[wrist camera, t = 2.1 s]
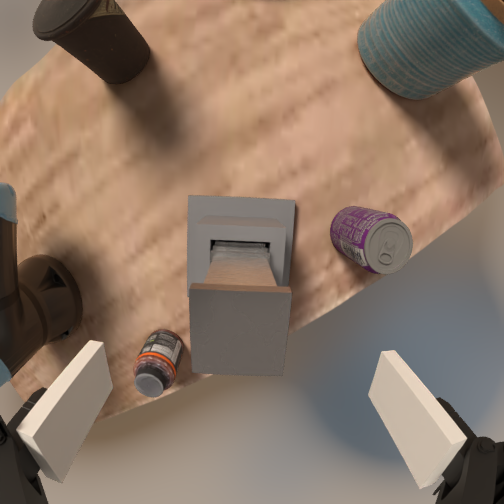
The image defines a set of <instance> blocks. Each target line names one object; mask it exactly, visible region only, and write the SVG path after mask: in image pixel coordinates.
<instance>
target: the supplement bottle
mask: <svg viewBox="0 0 504 504" xmlns="http://www.w3.org/2000/svg"><path fill="white" fill-rule="evenodd" d="M182 354H183V343H182V341H181V339H180V338H179V337H178V335H176V334H175V333H173V332H172V331H169V330H165V329H161V330H157V331H154V332H153V333H152V334H151V335H150V336H149V337H148V339H147V341H146V343H145V344H144V346H143V348H142V350H141V352H140V354H139V355H138V357H137V359H136V361H135V363H134V367H133V372H134V376H135V380H134V384H135V387H136V389H137V390H138V391H139V392H140V393H142V394H143V395H145V396H148V397H158V396H160V395H161V394H162V393H163V391H164V390H166V389H168V388H170V387H171V386H172V384H173V383H174V380H175V377H176V374H177V370H178V367H179V363H180V360H181V357H182Z"/></svg>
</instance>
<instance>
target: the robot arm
mask: <svg viewBox="0 0 504 504" xmlns="http://www.w3.org/2000/svg"><path fill="white" fill-rule="evenodd" d="M17 224H18V220H17V218H16V193H15V190H14V188H13V187H12V186H11V185H9V184H7V183H1V182H0V387H1V386H2V385H3V384H5V383H6V382H8V381H10V379H11V378H12V377H13V376H14V375H15V374H16V373H17V372H18V371H19V370H20V369H21V368H22V367H23V366H24V365H25V364H26V363H27V361H28V360H29V359H30V358H31V357H32V356H33V355H34V354H35V353H36V352H37V351H38V350H39V349H41V348H42V347H43V346H44V345H48V344H51V343H55V342H58V341H62V340H64V339H66V338H67V337H69V336H70V335H71V334H72V333H73V332H74V331H75V330H76V329H77V327H78V326H79V324H80V321H81V317H82V301H81V296H80V292H79V290H78V287H77V285H76V283H75V281H74V279H73V277H72V276H71V274H70V273H69V271H68V270H67V269H66V268H65V267H64V266H63V265H62V264H61V263H60V262H59V261H57V260H56V259H54V258H52V257H50V256H47V255H35V256H32V257H30V258H28V259H26V260H24V261H23V262H21V263H20V264H19V266H18V267H17ZM112 389H113V384H112V380H111V376H110V372H109V367H108V363H107V358H106V353H105V348H104V342H98V341H92V340H90V341H89V342H88V343H87V344H86V345H85V346H84V347H83V349H82V350H81V351H80V352H79V353H78V354H77V355H76V357H75V358H74V359H73V360H72V361H71V362H70V363H69V365H68V366H67V367H66V368H65V369H64V370H63V372H62V373H61V374H60V375H59V376H58V378H57V379H56V380H55V381H54V382H53V384H52V385H51V386H50V387H49V388H48V389H46V388H43V387H42V388H41V389H39V390H37V391H36V392H34V393H33V394H32V395H31V396H30V398H29V399H28V400H27V402H25V404H24V405H23V407H21V408H20V410H19V411H18V412H17V413H16V414H15V416H14V417H13V418H12V419H11V421H10V422H9V423H8V424H7V426H6V424H5V422H4V421H3V419H2V417H1V415H0V504H48V501H47V498H46V495H45V492H44V489H43V486H42V483H41V480H40V478H39V476H38V474H37V473H38V471H39V470H40V469H41V470H42V471H43V473H44V474H45V476H46V477H48V478H50V479H52V480H55V481H57V482H60V483H63V481H64V479H65V477H66V475H67V473H68V471H69V469H70V467H71V465H72V463H73V461H74V459H75V457H76V455H77V453H78V451H79V449H80V447H81V446H82V444H83V442H84V440H85V438H86V436H87V434H88V432H89V431H90V429H91V427H92V425H93V423H94V421H95V419H96V418H97V416H98V414H99V412H100V410H101V409H102V407H103V405H104V403H105V401H106V400H107V398H108V396H109V394H110V393H111V391H112ZM368 396H369V397H370V399H371V401H372V403H373V405H374V406H375V408H376V410H377V412H378V413H379V415H380V417H381V419H382V420H383V422H384V424H385V426H386V428H387V429H388V431H389V433H390V435H391V437H392V438H393V440H394V442H395V444H396V446H397V448H398V449H399V451H400V453H401V455H402V457H403V458H404V460H405V462H406V464H407V466H408V468H409V470H410V471H411V473H412V475H413V477H414V479H415V481H416V483H417V485H418V487H419V489H421V488H424V487H426V486H429V485H431V484H434V483H435V482H436V481H437V480H438V478H439V477H440V476H441V475H442V476H443V477H444V481H443V482H442V483H441V484H440V486H439V487H438V488H437V489H436V490H435V492H434V493H433V495H435V494H436V493H437V492H438V491H439V490H440V491H439V494H438V498H437V500H436V504H504V442H498V443H495V442H494V441H493V440H492V439H490V438H487V437H477V436H476V435H475V434H474V433H473V431H472V430H471V429H470V428H469V427H468V425H467V424H466V423H465V422H464V421H463V419H462V418H461V417H459V415H458V413H457V412H455V410H454V409H453V407H451V405H450V404H449V403H448V402H446V401H445V400H443V399H441V398H436V399H435V397H434V396H433V395H432V394H431V393H430V392H429V390H428V389H427V388H426V387H425V385H424V384H423V383H422V382H421V381H420V380H419V378H418V377H417V376H416V375H415V374H414V373H413V371H412V370H411V369H410V368H409V367H408V366H407V364H406V363H405V362H404V361H403V360H402V359H401V357H400V356H399V355H398V354H397V353H396V352H395V350H393V351H383V352H381V355H380V359H379V362H378V365H377V369H376V372H375V375H374V379H373V382H372V385H371V388H370V391H369V394H368Z"/></svg>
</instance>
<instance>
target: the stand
mask: <svg viewBox="0 0 504 504" xmlns="http://www.w3.org/2000/svg"><path fill="white" fill-rule="evenodd" d="M294 212H295V200H285V199H269V198H251V197H230V196H201V195H189V196H188V230H187V296H188V297H189V288H190V286H191V284H192V283H204V281H205V278H206V275H207V272H208V270H209V267H210V253H211V250H213V245H215V241H216V240H234V241H256V242H264V243H265V247H267V253H270V264H269V266H270V269H271V271H272V274H273V277H274V279H275V282H276V285H277V286H281V287H288V286H289V275H290V264H291V252H292V239H293V226H294Z"/></svg>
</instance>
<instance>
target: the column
mask: <svg viewBox="0 0 504 504" xmlns="http://www.w3.org/2000/svg"><path fill="white" fill-rule="evenodd" d="M269 264H270V253H267V247H265V243H264V242H256V241H234V240H216V241H215V245H213V250H211V253H210V267H209V270H208V272H207V275H206V278H205V281H204V283H192V284H191V286H190V288H189V311H190V341H191V363H192V373H203V374H220V375H248V376H249V375H251V376H282V375H283V368H284V360H285V352H286V345H287V336H288V328H289V319H290V310H291V300H292V291H291V289H290V287H281V286H277V285H276V282H275V279H274V277H273V274H272V271H271V269H270V266H269Z"/></svg>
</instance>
